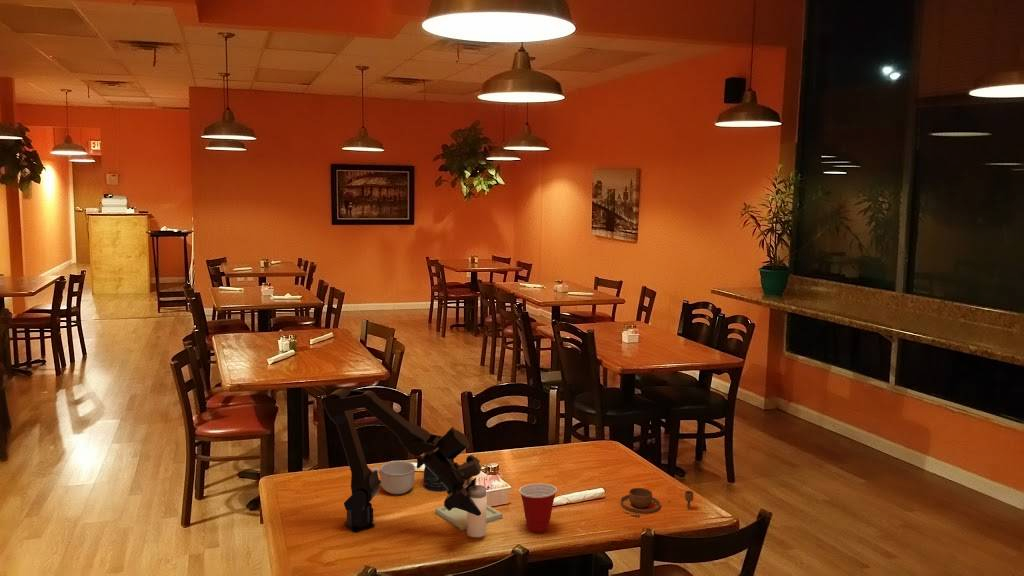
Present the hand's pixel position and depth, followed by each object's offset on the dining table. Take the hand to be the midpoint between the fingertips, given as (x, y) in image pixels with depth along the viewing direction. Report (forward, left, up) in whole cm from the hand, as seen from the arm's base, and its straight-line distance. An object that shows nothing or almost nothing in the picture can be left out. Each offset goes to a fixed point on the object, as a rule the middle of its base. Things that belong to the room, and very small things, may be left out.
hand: (481, 510), depth 212 cm
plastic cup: (+16, -5, -8) cm, 18 cm away
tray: (+5, +13, -8) cm, 16 cm away
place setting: (+54, -14, -9) cm, 56 cm away
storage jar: (+10, +37, -8) cm, 40 cm away
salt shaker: (-1, +1, -7) cm, 7 cm away
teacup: (-4, +42, -8) cm, 43 cm away
